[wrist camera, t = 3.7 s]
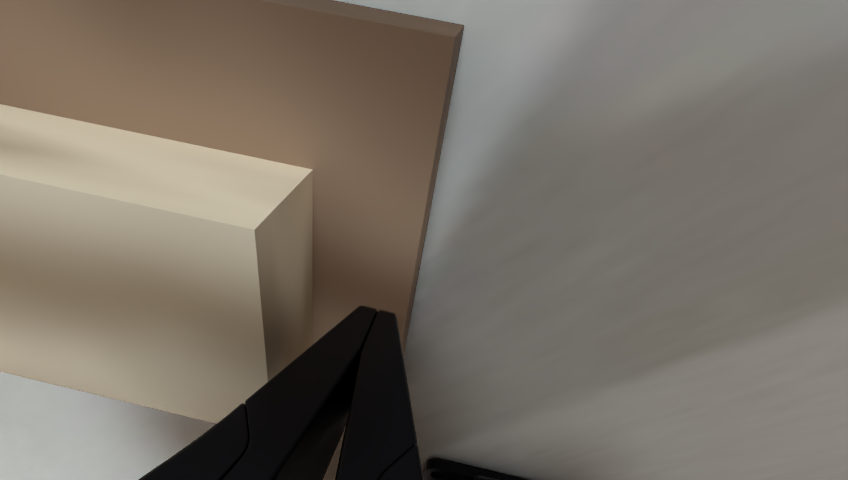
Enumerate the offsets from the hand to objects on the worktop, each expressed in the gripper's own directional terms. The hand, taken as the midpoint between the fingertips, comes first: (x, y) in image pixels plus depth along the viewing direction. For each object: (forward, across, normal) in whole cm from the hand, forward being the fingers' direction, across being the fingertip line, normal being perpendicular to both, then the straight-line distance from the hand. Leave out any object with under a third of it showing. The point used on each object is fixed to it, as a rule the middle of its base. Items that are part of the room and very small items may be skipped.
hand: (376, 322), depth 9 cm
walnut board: (+3, +6, 0) cm, 7 cm away
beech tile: (0, +6, 0) cm, 6 cm away
